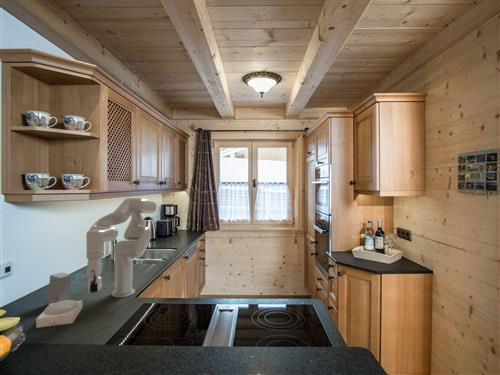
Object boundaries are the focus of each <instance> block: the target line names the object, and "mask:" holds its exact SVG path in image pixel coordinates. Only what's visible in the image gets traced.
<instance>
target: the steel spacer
mask: <svg viewBox="0 0 500 375" xmlns="http://www.w3.org/2000/svg"><path fill="white" fill-rule="evenodd" d="M90 278H91V277H90ZM90 278H89V279H87V280H88V281H87V282H88V283H87V284H88V285H87V286H88V288H87V289H88V290H87V292H88V293H89V294H91V295H93V294H98V293H101V292H102V291H103V276H102V275H101V274H100V275H99V277H98V278H97V283H98V291H97V292H90ZM94 278H96V276H94ZM94 280H95V279H94Z"/></svg>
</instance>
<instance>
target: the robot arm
mask: <svg viewBox="0 0 500 375" xmlns="http://www.w3.org/2000/svg"><path fill="white" fill-rule="evenodd" d="M156 211H157V203H156V202H155V201H154V200H150V199H147V198H140V197H139V198H138V197H128V198H125V199H124V200H123V201H122V203H121V204H120V205H119V206H118V207H117V208H116V209H115V210H114V211H113V212H110V213H108V214H106V215H104V216H102V217H100V218H98V220H96V221H95V222H94V224H93V225H92V226H91V227H90V228H89V230H87V231H86V241H85V242H86V259H87V268H86V279H87V280H88V279H89V278H90V277H91V278H90V292H97V291H98V283H97V278H98V277H99V275H101V273H102V271H103V269H102V268H103V265H102V264H103V262H102V261H103V257H104V256H105V254H104V253H105V252H104V251H105V250H104V249H105V246H104V245H105V244H104V243H106V242H112V241H115V240H116V238H117V237H118V235H119V230H118V229H117V228H116V227H113V226H117V225H121V224H123V223H125V222H127V220H128V219H129V218H130V217H131V219H130V222H129V224H128V225H127V227H126V229H125V231H124V234H123V238H124V240H119V241H117V242H115V244H114V245H113V254H114V264H115V267H114V269H115V270H114V290H113V291H112V292H111V296H112V297H113V298H126V297H130V296H132V295H134V294H135V292H136V289H135V288H133V273H134V272H133V270H134V268H133V266H134V265H133V260H132V258H141V257H142V256H143V255H144V253H145V252H146V250H147V247H148V245H149V242H150V241H151V238H152V230H151V228H150V227H148V226H145V222H146V221H145V218H144V216H143V215H142V214H153V213H155V212H156ZM94 276H96V278H94ZM94 279H95V280H94Z"/></svg>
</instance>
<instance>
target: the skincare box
mask: <svg viewBox="0 0 500 375" xmlns="http://www.w3.org/2000/svg"><path fill="white" fill-rule="evenodd" d="M71 282H72V274H70V273H68V272H67V273H65V272H57V273H54V274H50V276H49V283H48V285H49V286H48V294H47V302H46V303H47V305H48V306H49V305H50V304H52V303H56V302H60V301H66V300H70V295H71V284H72V283H71Z"/></svg>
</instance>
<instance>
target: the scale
mask: <svg viewBox="0 0 500 375" xmlns="http://www.w3.org/2000/svg"><path fill="white" fill-rule="evenodd" d="M82 309H83V300H81V299H80V300H74V299H69V300H66V301H60V302H56V303H52V304H50V305H48V306H46V307H45V308H44V310H43V311H42V312H41V313H40V314H39V315H38V317H36V319H35V321H36V322H35V325H36V326H35V328H45V327H46V328H47V327H55V326H62V325H67V324H68V325H69V324H73V323H74V322H75V320H76V319H77V317H78V315H79V314H80V312H81V311H82Z"/></svg>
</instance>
